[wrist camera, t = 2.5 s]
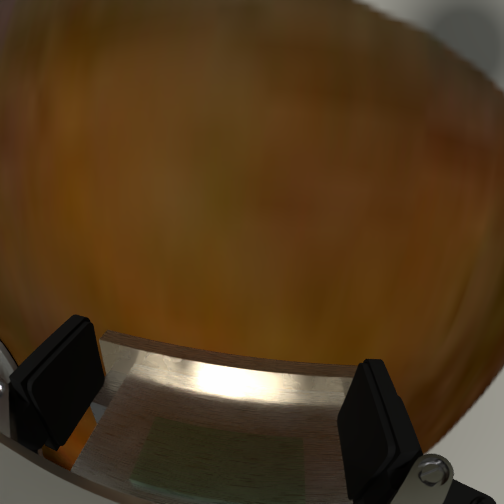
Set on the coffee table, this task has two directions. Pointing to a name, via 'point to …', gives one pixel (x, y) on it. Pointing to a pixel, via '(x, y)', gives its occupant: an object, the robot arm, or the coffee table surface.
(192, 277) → the coffee table surface
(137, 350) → the grey unit
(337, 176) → the coffee table surface
